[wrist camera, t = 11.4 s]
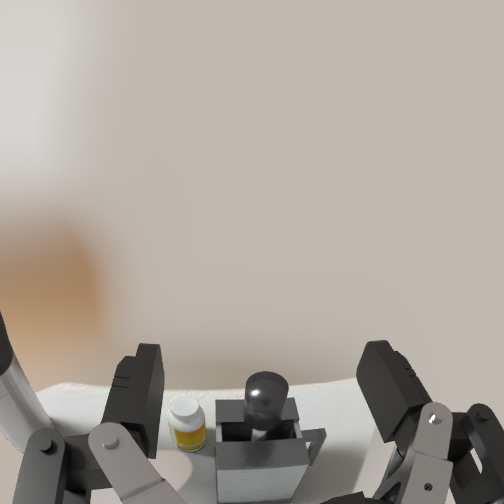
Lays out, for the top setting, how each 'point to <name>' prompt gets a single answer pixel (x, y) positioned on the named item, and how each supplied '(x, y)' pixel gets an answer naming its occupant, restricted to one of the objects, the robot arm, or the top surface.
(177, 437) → the supplement bottle
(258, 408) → the dark grey knob handle
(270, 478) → the grey box
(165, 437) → the top surface
